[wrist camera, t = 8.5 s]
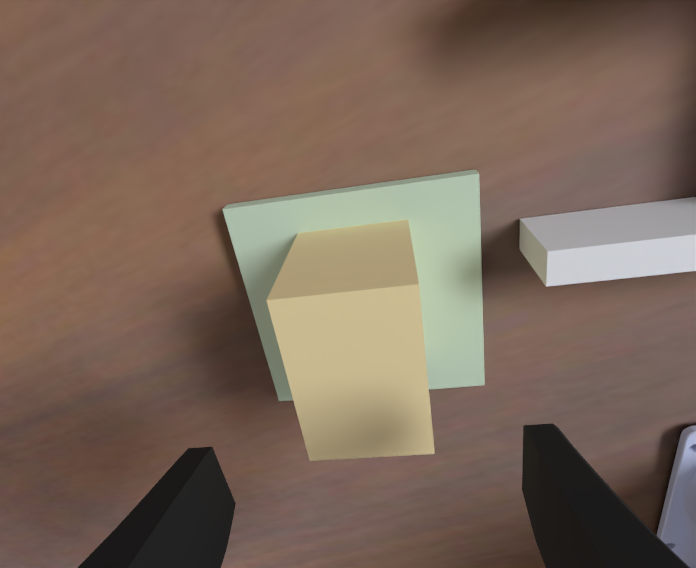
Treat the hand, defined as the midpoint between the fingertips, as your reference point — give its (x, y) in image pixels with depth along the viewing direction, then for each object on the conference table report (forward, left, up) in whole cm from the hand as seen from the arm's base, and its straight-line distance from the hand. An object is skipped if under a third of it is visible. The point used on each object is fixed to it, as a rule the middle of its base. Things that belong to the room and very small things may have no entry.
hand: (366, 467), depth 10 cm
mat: (0, 0, -8) cm, 8 cm away
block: (0, 0, -8) cm, 8 cm away
